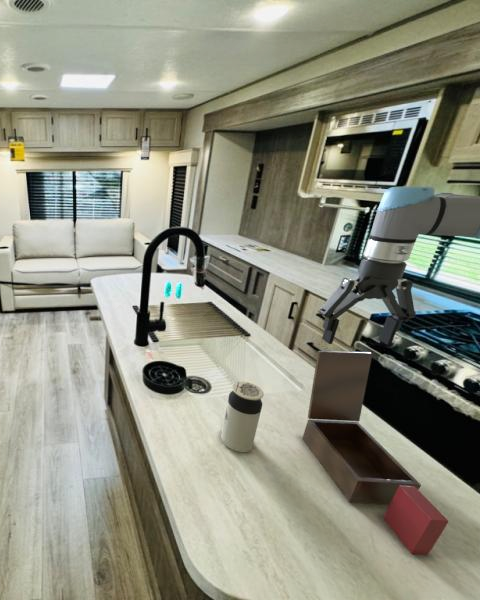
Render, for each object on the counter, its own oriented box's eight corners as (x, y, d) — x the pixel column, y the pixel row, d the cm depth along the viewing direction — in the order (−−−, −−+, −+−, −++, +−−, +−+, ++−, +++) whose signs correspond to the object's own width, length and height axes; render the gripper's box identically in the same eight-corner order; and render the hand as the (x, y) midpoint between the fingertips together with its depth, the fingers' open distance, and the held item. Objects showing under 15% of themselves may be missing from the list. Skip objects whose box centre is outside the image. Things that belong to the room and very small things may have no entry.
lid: (372, 353, 80) (355, 345, 86) (319, 351, 82) (306, 344, 87) (359, 421, 84) (343, 409, 90) (309, 419, 86) (296, 407, 91)
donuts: (165, 294, 199) (166, 279, 196) (181, 295, 196) (183, 280, 192) (163, 299, 191) (164, 284, 187) (180, 301, 187) (182, 285, 184)
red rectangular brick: (397, 518, 68) (415, 486, 64) (428, 555, 61) (449, 521, 57) (382, 517, 68) (399, 485, 64) (411, 553, 61) (431, 520, 58)
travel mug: (255, 440, 88) (268, 388, 82) (247, 458, 83) (260, 403, 76) (226, 426, 93) (236, 376, 87) (216, 442, 88) (226, 390, 81)
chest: (409, 506, 70) (421, 484, 68) (348, 502, 71) (358, 480, 69) (350, 441, 87) (357, 421, 85) (302, 438, 89) (308, 419, 86)
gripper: (337, 263, 68) (312, 348, 75) (462, 263, 66) (423, 350, 73) (315, 255, 74) (294, 333, 82) (428, 255, 73) (395, 335, 80)
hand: (355, 342), depth 78 cm, fingers open, 13 cm apart
